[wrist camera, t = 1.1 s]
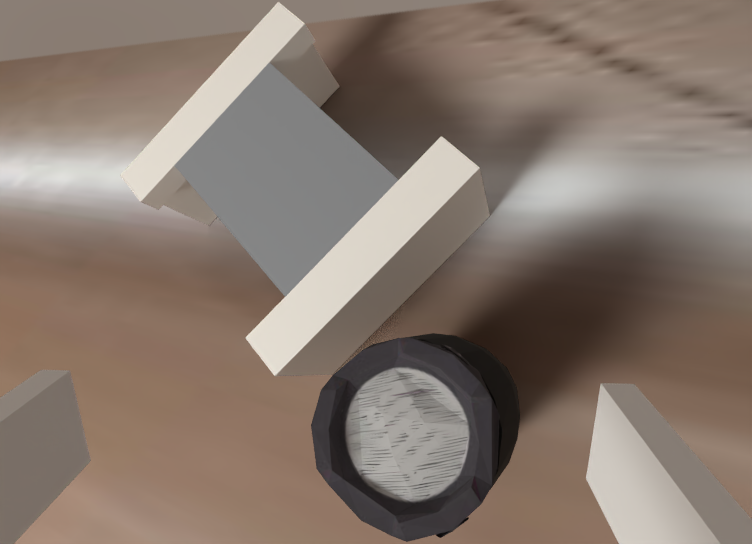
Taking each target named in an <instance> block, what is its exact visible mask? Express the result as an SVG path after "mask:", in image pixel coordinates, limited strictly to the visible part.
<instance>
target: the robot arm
mask: <svg viewBox="0 0 752 544" xmlns="http://www.w3.org/2000/svg"><path fill="white" fill-rule="evenodd" d="M90 461H91V460H90V455H89V451H88V447H87V442H86V438H85V434H84V429H83V425H82V421H81V416H80V412H79V408H78V403H77V399H76V394H75V390H74V386H73V381H72V377H71V373H70V371H66V370H40V371H39V372H37V373H36V374H34V375H33V376H31V377H30V378H29V379H27V380H26V381H24V382H23V383H21V384H20V385H18V386H17V387H15V388H14V389H12V390H11V391H9V392H8V393H6V394H5V395H4V396H2V397H1V398H0V544H14V543H15V542H16V541H17V540H18V539H19V538H20V536H21V535H22V534H23V533H24V532H25V531H26V530H27V529H28V528H29V527H30V526H31V525H32V524H33V523H34V521H35V520H36V519H37V518H38V517H39V516H40V515H41V514H42V513H43V512H44V511H45V510H46V509H47V507H48V506H49V505H50V504H51V503H52V502H53V501H54V500H55V499H56V498H57V497H58V496H59V495H60V493H61V492H62V491H63V490H64V489H65V488H66V487H67V486H68V485H69V484H70V483H71V482H72V481H73V480H74V478H75V477H76V476H77V475H78V474H79V473H80V472H81V471H82V470H83V469H84V468H85V467H86V466H87V464H88V463H89V462H90ZM586 479H587V481H588V483H589V485H590V487H591V489H592V491H593V493H594V495H595V497H596V499H597V501H598V503H599V505H600V507H601V509H602V511H603V513H604V515H605V517H606V519H607V521H608V523H609V525H610V527H611V529H612V531H613V533H614V535H615V537H616V539H617V541H618V543H619V544H752V519H751V518H750V517H749V515H748V514H747V513H746V512H745V511H744V510H743V509H742V507H741V506H740V505H739V504H738V503H737V502H736V500H735V499H734V498H733V497H732V496H731V495H730V494H729V492H728V491H727V490H726V489H725V488H724V487H723V486H722V484H721V483H720V482H719V481H718V480H717V479H716V478H715V476H714V475H713V474H712V473H711V472H710V471H709V469H708V468H707V467H706V466H705V465H704V464H703V463H702V461H701V460H700V459H699V458H698V457H697V456H696V455H695V453H694V452H693V451H692V450H691V449H690V448H689V446H688V445H687V444H686V443H685V442H684V441H683V440H682V438H681V437H680V436H679V435H678V434H677V433H676V432H675V430H674V429H673V428H672V427H671V426H670V425H669V424H668V422H667V421H666V420H665V419H664V418H663V417H662V415H661V414H660V413H659V412H658V411H657V410H656V409H655V407H654V406H653V405H652V404H651V403H650V402H649V401H648V399H647V398H646V397H645V396H644V395H643V394H642V393H641V391H640V390H639V389H638V388H637V387H636V386H635V384H612V383H601V385H600V392H599V398H598V405H597V411H596V418H595V424H594V431H593V437H592V444H591V450H590V457H589V463H588V470H587V476H586Z"/></svg>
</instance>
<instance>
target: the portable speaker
mask: <svg viewBox="0 0 752 544" xmlns="http://www.w3.org/2000/svg"><path fill="white" fill-rule="evenodd" d="M519 420H520V411H519V403H518V394H517V387H516V385H515V383H514V381H513V379H512V377H511V375H510V373H509V371H508V369H507V368H506V367H505V366H504V365H503V364H502V363H501V362H500V361H499V360H498V359H496V358H495V357H494V356H493V355H492V354H491V353H490V352H489V351H488V350H487V349H485V348H483V347H480V346H478V345H476V344H473V343H471V342H469V341H466V340H464V339H461V338H459V337H457V336H452V335H443V334H434V333H433V334H426V335H420V336H413V337H406V338H397V339H393V340H389V341H385V342H381V343H377V344H373V345H371V346H369V347H368V348H366V349H364V350H362V351H361V352H360V353H359V354H358V355H356V356H355V357H354V358H353V359H352V360H350V361H349V362H348V363H347V364H346V365H345V366H343V367H342V368H341V369H340V370H339V371H337V372H336V373H335V374H334V375H333V376H332V377H331V378H330V380H329V381H328V382H327V383H326V385H325V386H324V387H323V388H322V390H321V392H320V396H319V400H318V403H317V407H316V410H315V414H314V417H313V421H312V424H311V427H312V435H313V443H314V451H315V459H316V466H317V470H318V471H319V472H320V474H321V475H322V477H323V478H324V479H325V481H326V482H327V483H328V485H329V486H330V487H331V488H332V489H333V490H334V491H335V492H336V493H337V495H338V496H339V497H340V498H341V499H342V500H343V501H344V502H345V503H346V504H347V505H348V507H349V508H350V509H351V510H352V511H353V512H354V513H355V514H356V515H357V516H358V517H359V519H360V520H361V521H363V522H365V523H367V524H369V525H371V526H373V527H375V528H377V529H379V530H381V531H383V532H385V533H387V534H389V535H391V536H394V537H396V538H399V539H401V540H404V541H406V542H407V541H411V540H415V539H419V538H423V537H427V536H431V535H435V534H436V536H438V537H440V538H441V537H443V536H445V535H447V534H448V533H450V532H452V531H453V530H455V529H456V528H457V527H459V526H460V525H461V524H463V523H464V522H465V521H467V520H468V519H469V518H467V517H468V516H469V515H470V514H471V513H472V512H473V511H474V510H475V509H476V508H477V507H478V506H480V505H481V504H482V502H483V500H484V499H485V497H486V495H487V494H488V492H489V490H490V489H491V488H492V486H493V485H494V483H495V482H496V481H497V479H498V478H499V476H500V475H501V473H502V472H503V470H504V469H505V468H506V466H507V465H508V463H509V461H510V458H511V455H512V452H513V450H514V447H515V444H516V441H517V437H518V428H519ZM465 518H466V519H465Z"/></svg>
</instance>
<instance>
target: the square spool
mask: <svg viewBox="0 0 752 544" xmlns="http://www.w3.org/2000/svg"><path fill="white" fill-rule="evenodd" d="M314 42H315V39H314V38H313V36H312V34H311V33H310V31H309V30H308V28H307V26H306V25H305V23H303V22H302V21H301V20H300V19H298V18H297V17H296V16H295V15H294V14H292V13H291V12H290V11H288V9H286V8H285V7H284V6H283V5H281V4H280V3H279V2H278V3H277V4H276V5H275V6H274V7H273V9H271V11H270V12H269V13H268V14H267V15H266V16H265V17H264V18H263V19H262V21H261V22H260V23H259V24H258V25H257V26H256V27H255V28H254V29H253V30H252V31H251V32H250V34H249V35H248V36H247V37H246V38H245V39H244V40H243V41H242V42H241V43H240V45H239V46H238V47H237V48H236V49H235V50H234V51H233V52H232V53H231V54H230V55H229V57H228V58H227V59H226V60H225V61H224V62H223V63H222V64H221V65H220V66H219V68H218V69H217V70H216V71H215V72H214V73H213V74H212V75H211V76H210V77H209V78H208V80H207V81H206V82H205V83H204V84H203V85H202V86H201V87H200V88H199V89H198V91H197V92H196V93H195V94H194V95H193V96H192V97H191V98H190V99H189V100H188V101H187V103H186V104H185V105H184V106H183V107H182V108H181V109H180V110H179V111H178V112H177V114H176V115H175V116H174V117H173V118H172V119H171V120H170V121H169V122H168V123H167V124H166V126H165V127H164V128H163V129H162V130H161V131H160V132H159V133H158V134H157V135H156V137H155V138H154V139H153V140H152V141H151V142H150V143H149V144H148V145H147V146H146V147H145V149H144V150H143V151H142V152H141V153H140V154H139V155H138V156H137V157H136V158H135V160H134V161H133V162H132V163H131V164H130V165H129V166H128V167H127V168H126V169H125V170H124V172H123V173H122V174H121V175H120V176H121V177H122V178H123V180H124V181H125V182H126V184H127V185H128V186H129V187H130V189H131V190H132V191H133V193H134V194H135V195H136V197H137V198H138V199H139V200H140V202H142V203H144V204H147V205H149V206H151V207H153V208H156V209H158V210H159V209H160V208H161V207H162V206H163V205H165V206H167V207H169V208H171V209H173V210H176V211H178V212H180V213H182V214H184V215H186V216H189V217H191V218H193V219H195V220H197V221H199V222H202V223H204V224H206V225H208V226H209V225H210V224H211V223H212V222H213V221H214V220H215V219H216V218H217V217H218V218H219V219H220V220H221V221H222V223H223V224H224V225H225V226H226V227H227V228H228V230H229V231H230V232H231V233H232V234H233V236H234V237H235V238H236V239H237V240H238V241H239V243H240V244H241V245H242V246H243V247H244V249H245V250H246V251H247V252H248V253H249V254H250V256H251V257H252V258H253V259H254V260H255V262H256V263H257V264H258V265H259V266H260V267H261V269H262V270H263V271H264V272H265V273H266V275H267V276H268V277H269V278H270V279H271V280H272V282H273V283H274V284H275V285H276V286H277V288H278V289H279V290H280V291H281V292H282V293H283V295H284V296H285V298H284V299H283V300H282V301H281V302H280V303H279V304H278V305H277V306H276V307H275V308H274V309H273V310H272V311H271V312H270V313H269V314H268V315H267V316H266V317H265V318H264V319H263V320H262V321H261V322H260V323H259V324H258V326H257V327H256V328H255V329H254V330H253V331H252V332H251V333H250V334H249V335H248V336H247V337H246V339H247V341H248V342H249V343H250V344H251V346H252V347H253V348H254V350H255V351H256V352H257V354H258V355H259V356H260V357H261V359H262V360H263V361H264V363H265V364H266V365H267V367H268V368H269V369H270V370H271V372H272V373H273V374H274V376H303V375H332V374H333V373H334V372H335V371H336V370H337V369H338V368H339V367H340V366H341V365H342V364H343V363H344V362H345V361H346V360H347V359H348V358H349V357H350V356H351V355H352V354H353V353H354V352H355V351H356V350H357V349H358V348H359V347H360V346H361V345H362V344H363V343H364V342H365V341H366V340H367V339H368V338H369V337H370V336H371V335H372V334H373V333H374V332H375V331H376V330H377V329H378V328H379V327H380V326H381V325H382V324H383V323H384V322H385V321H386V320H387V319H388V318H389V317H390V316H391V315H392V314H393V313H394V312H395V311H396V310H397V309H398V308H399V307H400V306H401V305H402V304H403V303H404V302H405V301H406V300H407V299H408V298H409V297H410V296H411V295H412V294H413V293H414V292H415V291H416V290H417V289H418V288H419V287H420V286H421V285H422V284H423V283H424V282H425V281H426V280H427V279H428V278H429V277H430V276H431V275H432V274H433V273H434V272H435V271H436V270H437V269H438V268H439V267H440V266H441V265H442V264H443V263H444V262H445V261H446V260H447V259H448V258H449V257H450V256H451V255H452V254H453V253H454V252H455V251H456V250H457V249H458V248H459V247H460V246H461V245H462V244H463V243H464V242H465V241H466V240H467V239H468V238H469V237H470V236H471V235H472V234H473V233H474V232H475V231H476V230H477V229H478V228H479V227H480V226H481V225H482V224H483V223H484V222H485V221H486V220H487V219H488V218H489V217H490V213H489V209H488V204H487V199H486V194H485V190H484V185H483V180H482V175H481V171H480V167H478V166H477V165H476V164H475V163H473V162H472V161H471V160H470V159H469V158H467V157H466V156H465V155H464V154H463V153H461V152H460V151H459V150H458V149H456V148H455V147H454V146H453V145H452V144H450V143H449V142H448V141H447V140H445V139H444V138H443V137H442V136H441V137H440V138H439V139H438V140H437V141H436V142H435V143H434V144H433V145H432V146H431V147H430V148H429V149H428V150H427V151H426V152H425V153H424V154H423V155H422V156H421V157H420V159H419V160H418V161H417V162H416V163H415V164H414V165H413V166H412V167H411V168H410V169H409V170H408V171H407V172H406V173H405V174H404V175H403V176H402V177H401V178H400V179H399V180H398V179H397V178H396V177H395V176H394V175H393V174H392V173H391V172H389V171H388V170H387V169H386V168H385V167H384V166H383V165H382V164H381V163H380V162H378V161H377V160H376V159H375V158H374V157H373V156H372V155H371V154H370V153H369V152H367V151H366V150H365V149H364V148H363V147H362V146H361V145H360V144H359V143H358V142H356V141H355V140H354V139H353V138H352V137H351V136H350V135H349V134H348V133H347V132H345V131H344V130H343V129H342V128H341V127H340V126H339V125H338V124H337V123H336V122H334V121H333V120H332V119H331V118H330V117H329V116H328V115H327V114H326V113H325V112H323V111H322V110H321V109H320V107H321V106H322V105H323V104H324V103H325V102H326V101H327V99H328V98H329V97H330V96H331V95H332V94H333V93H334V92H335V91H336V90H337V89H338V88H339V87H340V86H339V84H338V83H337V81H336V80H335V78H334V77H333V75H332V74H331V72H330V71H329V69H328V67H327V66H326V64H325V63H324V61H323V60H322V58H321V57H320V55H319V53H318V52H317V50H316V49H315V47H314V46H313V43H314Z"/></svg>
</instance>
